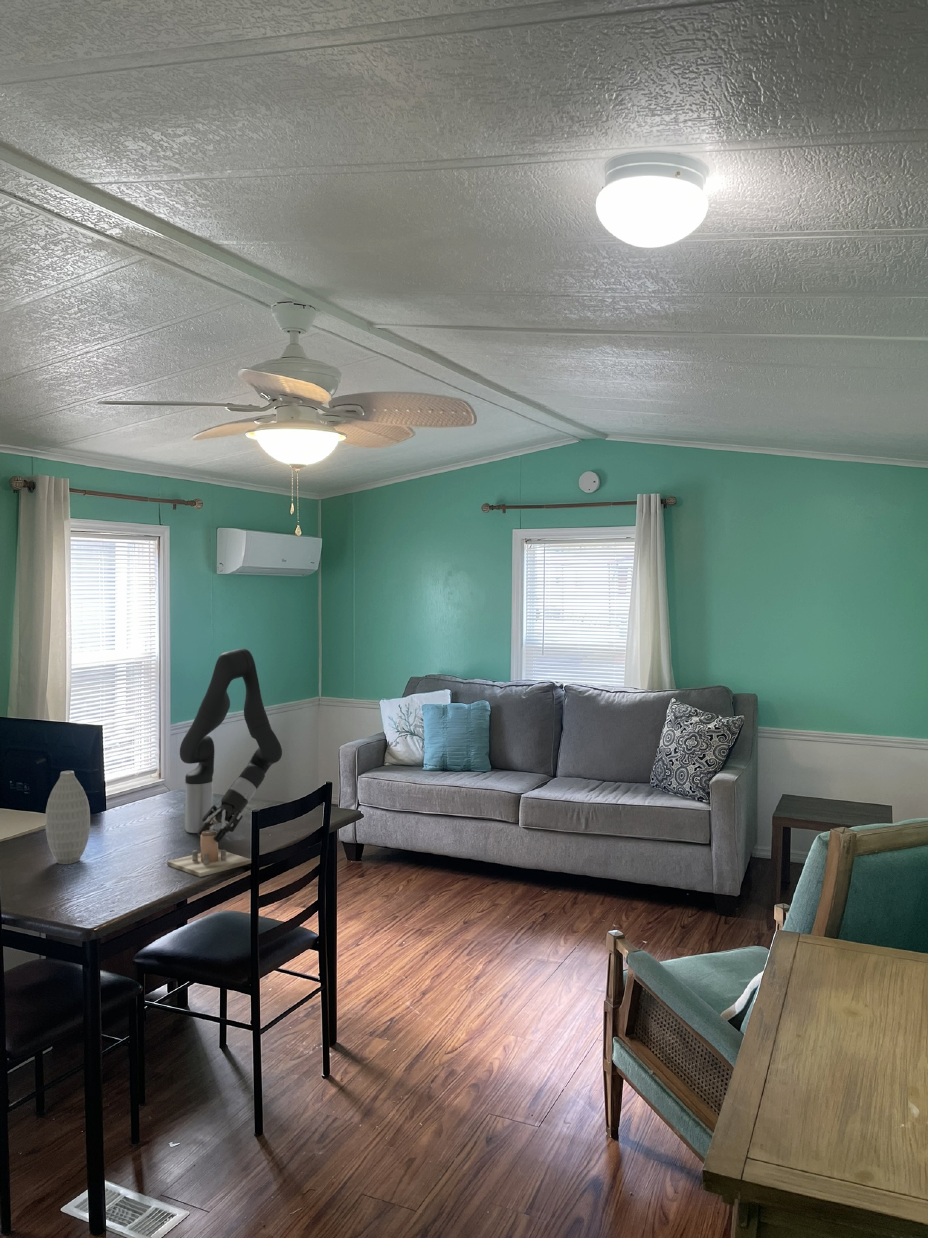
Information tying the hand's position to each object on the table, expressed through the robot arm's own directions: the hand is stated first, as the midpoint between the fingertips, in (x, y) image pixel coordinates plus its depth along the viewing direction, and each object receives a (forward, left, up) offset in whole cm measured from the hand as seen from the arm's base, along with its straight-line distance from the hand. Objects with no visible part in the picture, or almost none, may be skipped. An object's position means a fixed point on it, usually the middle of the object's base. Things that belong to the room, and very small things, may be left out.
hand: (207, 838), depth 279 cm
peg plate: (0, 0, -8) cm, 8 cm away
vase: (-36, -27, -8) cm, 45 cm away
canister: (0, 0, -7) cm, 7 cm away
